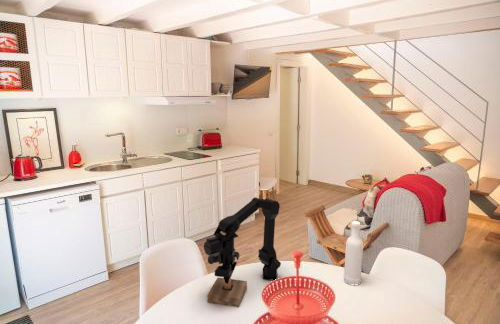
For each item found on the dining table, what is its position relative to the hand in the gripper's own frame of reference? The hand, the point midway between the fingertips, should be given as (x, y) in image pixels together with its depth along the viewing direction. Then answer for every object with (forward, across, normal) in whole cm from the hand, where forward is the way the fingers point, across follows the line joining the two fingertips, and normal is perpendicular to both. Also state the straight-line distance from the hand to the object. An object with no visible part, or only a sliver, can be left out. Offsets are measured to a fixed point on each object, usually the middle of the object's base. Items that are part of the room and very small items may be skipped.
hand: (227, 281), depth 146 cm
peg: (+3, 0, 0) cm, 3 cm away
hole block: (+7, 0, 0) cm, 7 cm away
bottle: (+7, -25, +55) cm, 61 cm away
